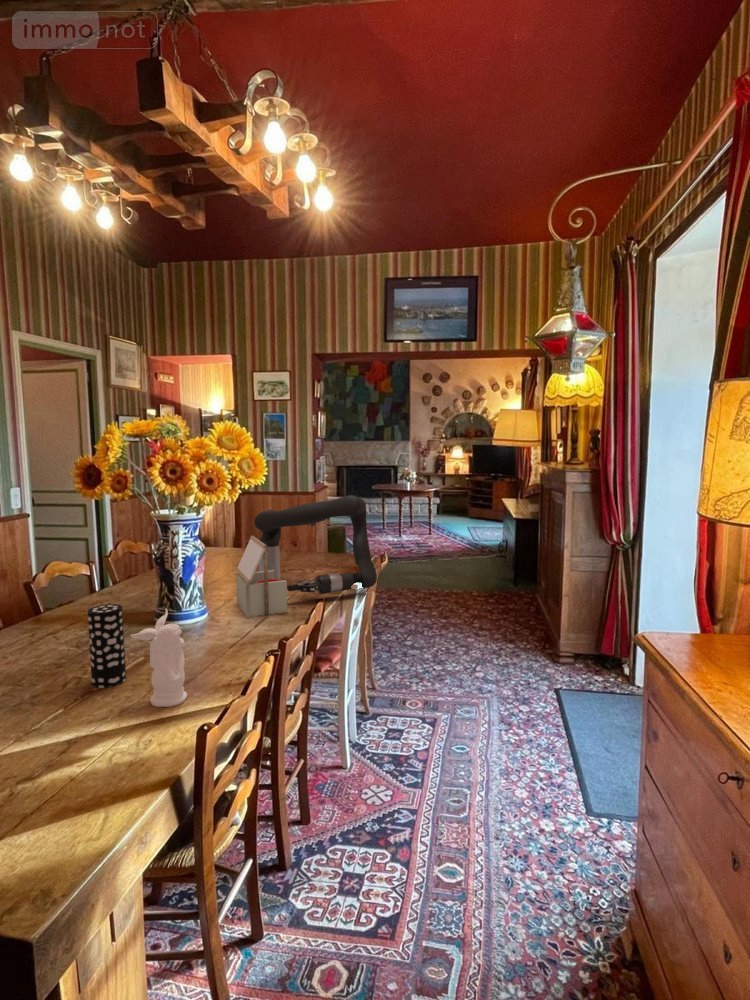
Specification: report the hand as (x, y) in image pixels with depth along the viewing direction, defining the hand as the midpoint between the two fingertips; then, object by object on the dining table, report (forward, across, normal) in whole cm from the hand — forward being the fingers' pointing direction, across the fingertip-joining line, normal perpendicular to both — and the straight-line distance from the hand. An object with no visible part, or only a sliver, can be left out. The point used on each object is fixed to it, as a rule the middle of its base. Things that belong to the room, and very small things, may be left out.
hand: (287, 588), depth 220 cm
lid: (+14, 0, -13) cm, 19 cm away
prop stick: (+11, +11, +6) cm, 17 cm away
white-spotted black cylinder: (+63, +50, +7) cm, 81 cm away
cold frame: (+11, 0, +6) cm, 12 cm away
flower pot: (+7, 0, +7) cm, 10 cm away
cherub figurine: (+51, +68, +7) cm, 85 cm away
